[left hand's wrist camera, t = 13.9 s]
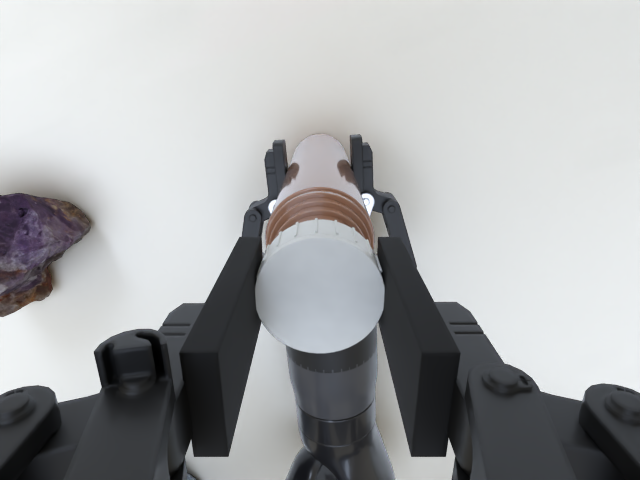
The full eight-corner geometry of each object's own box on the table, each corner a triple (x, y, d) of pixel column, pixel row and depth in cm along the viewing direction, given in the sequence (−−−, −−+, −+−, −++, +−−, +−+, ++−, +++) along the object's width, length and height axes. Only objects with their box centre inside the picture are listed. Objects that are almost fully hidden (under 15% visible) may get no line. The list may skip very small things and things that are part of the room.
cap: (246, 231, 14) (236, 251, 12) (368, 206, 14) (374, 223, 12) (277, 334, 15) (272, 365, 14) (387, 313, 15) (396, 342, 13)
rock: (117, 231, 39) (24, 151, 36) (79, 259, 31) (-45, 159, 28) (32, 312, 40) (-64, 240, 37) (-26, 360, 32) (-155, 273, 29)
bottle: (287, 140, 35) (228, 240, 13) (341, 128, 35) (380, 209, 12) (299, 192, 37) (268, 364, 14) (351, 181, 36) (402, 340, 14)
